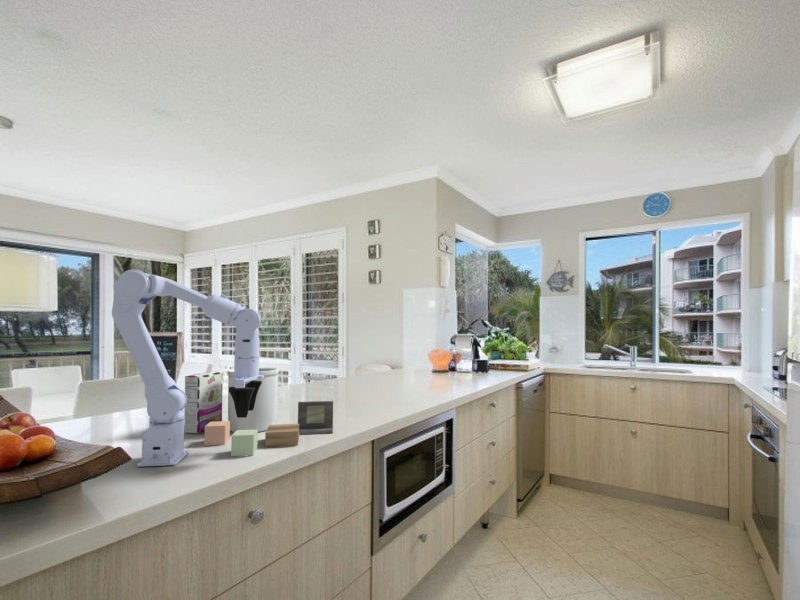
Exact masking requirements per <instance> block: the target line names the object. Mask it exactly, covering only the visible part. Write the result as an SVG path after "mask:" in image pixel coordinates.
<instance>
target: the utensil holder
mask: <svg viewBox="0 0 800 600" xmlns="http://www.w3.org/2000/svg"><path fill="white" fill-rule="evenodd" d="M226 371H227V372H226V375H227V376H228V377H227V419H228V420H227V421H230V432H232V433H235V431H236V430H256V429H258V433H260V432H261V433H262V432H266V431H267V428H268V426H269V425H278V424H277V422H278V421H277V420H278V419H277V418H278V397H279V396H278V391H279V373H280V368H279V367H273V366H259V375H264V378H263V379H257V380H255V381H262V384H261V386H260V388H259V390H258V393H257V396H256V401H255V406H254V409H253V411H248V415H247V417H244V418H237V415H236V410H235V405H234V401H233V398H232V396H231V394H230V393H229V388H230V387H235V381H234V380H233V376H234V368H231V369H230V368H229V369H227V370H226Z"/></svg>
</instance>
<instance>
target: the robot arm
mask: <svg viewBox="0 0 800 600" xmlns="http://www.w3.org/2000/svg"><path fill="white" fill-rule="evenodd" d="M113 290H114V296H113V303H112V307H111V308H112V309H111V316H112V319H113V321H114V323H115V325H116V327H117V329H118V331H119V333H120V335H121V337H122V340H123V342H124V344H125V346H126V348H127V350H128V352H129V354H130V356H131V359H132V361H133V363H134V365H135V368H136V370H137V372H138V373H139V376H140V377H141V380H142V382H143V384H144V397H145V399H146V403H147V404H146V405H147V406H146V412H147V415H148V416H149V421H148V423H149V424H148V428H147V430H146V431H144V433H143V436H142V441H141V442H142V443H141V444H142V445H141V461H140V462H138V463H137V464H136V467H157V466H159V467H160V466H175V465H177V464H178V463H180V462H181V460H182V459H183V458H185V457H186V456H187V455H188V454H190V453H191V450H190V449H185V448H184V447H185V433H184V426H185V413H184V412H183V409H184V410H185V406H186V403H187V396H186V394H185V390H183V389H181V388H179V386H178V385H177V383H176V381H175V380H174V379H173V378H172V377H171V376H170V375H169V373H168V371H167V369H166V366H165V364H164V362H163V360H162V358H161V356H160V354H159V351H158V350H157V348H156V345H155V343H154V341H153V339H152V337H151V335H150V332H149V330H148V328H147V326H146V324H145V322H144V320H143V318H142V313H143V311H144V310H145V308H146V306H147V305H148V304H149V303H150V302H151V301H153V300H154V299H155V298H156V297H157V296H158V297H169V296H170V297H173V298H175V299H178V300H181V301H183V302H186V303H188V304H191V305H194V306H195V307H199V308H201V309H202V310H203V314H204V316H206V317H207V318H209V319H210V318H211V319H212V320H214V321H218V322H220V323H221V324H225V325H227V326H229V327H232V326H234V328H235V340H234V358H233V359H234V361H233V362H234V365H233V369H234V376H233V380H234V381H235V387H230V388H229V393H230V394H231V396H232V398H233V401H234V405H235V410H236V415H237V418H244V417H247V415H248V411H253V409H254V406H255V401H256V396H257V393H258V390H259V388H260V386H261V384H262V381H255V380H257V379H263V378H264V375H259V367H260V329H259V327H260V325H261V316H260V314H259V313H258V312H257V311H256V310H254V309H253V308H246V304H244V303H241V304H240V303H237V302H235V301H233V300H230V299H228V296H227V295H225V294H223V293H222V294H221V295H219V294H216V293H215V294H212V295H209V296H207V295H205V294H203V293H201V292H198V291H196V290H194V289H192V288H190V287H188V286H186V285H184V284H181V283H180V282H177V281H175V280H173V279H170V278H166V277H163V276H159V275H157V274H152V273H149V272H148V273H146V272H144V271H142V270H140V269H128V270H126V271H124V272H123V273H121V274H120V276H119V277H118V279H116V281H115V283H114V284H113Z"/></svg>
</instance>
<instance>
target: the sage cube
mask: <svg viewBox="0 0 800 600" xmlns="http://www.w3.org/2000/svg"><path fill="white" fill-rule="evenodd" d="M258 434H259V432H258V429H256V430H236V431H235V432H233V433H232V434H231V442H230V443H231V447H230V448H231V449H230V450H231V451H230V456H238V457H246V456H245V455H253V456H255V454H256V452H257V451H258ZM256 450H257V451H256ZM255 451H256V452H255ZM254 453H255V454H254Z"/></svg>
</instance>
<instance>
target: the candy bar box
mask: <svg viewBox="0 0 800 600" xmlns="http://www.w3.org/2000/svg"><path fill="white" fill-rule="evenodd" d="M223 374H224V373H223V371H215V370H214V371H213V370H212V371H205V372H201V373H194V374H191V375H189V374H188V375H186V376H184V393H185V394H186V396H187V403H186V406H185V407H184V415H185V426H184V434H188V433H192V434H193V435H194V434H195V435H199V434H202V433H205V426H206V425H207V424H208V423H210V422H218V421H223V378H224V377H223Z"/></svg>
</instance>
